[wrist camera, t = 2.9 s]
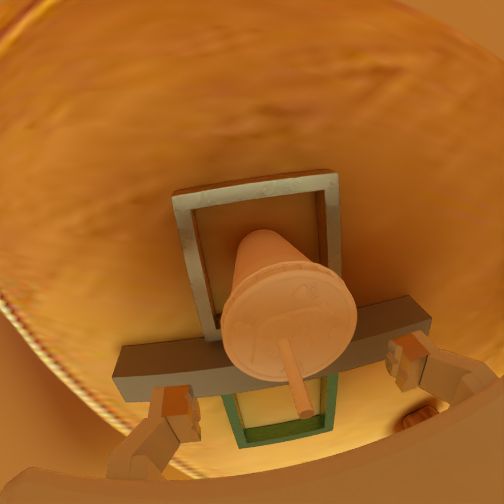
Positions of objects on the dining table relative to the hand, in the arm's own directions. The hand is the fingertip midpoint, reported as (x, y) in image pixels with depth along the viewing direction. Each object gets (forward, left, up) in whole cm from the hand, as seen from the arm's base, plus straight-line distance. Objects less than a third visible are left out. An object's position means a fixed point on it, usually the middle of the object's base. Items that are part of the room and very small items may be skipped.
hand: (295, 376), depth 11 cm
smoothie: (0, 0, -12) cm, 12 cm away
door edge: (0, +8, -12) cm, 14 cm away
